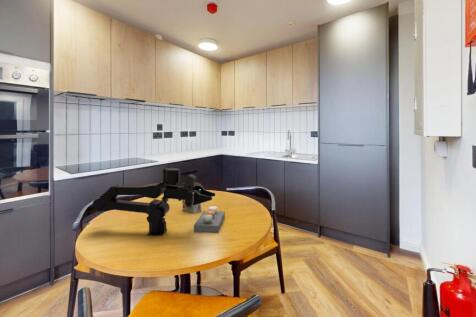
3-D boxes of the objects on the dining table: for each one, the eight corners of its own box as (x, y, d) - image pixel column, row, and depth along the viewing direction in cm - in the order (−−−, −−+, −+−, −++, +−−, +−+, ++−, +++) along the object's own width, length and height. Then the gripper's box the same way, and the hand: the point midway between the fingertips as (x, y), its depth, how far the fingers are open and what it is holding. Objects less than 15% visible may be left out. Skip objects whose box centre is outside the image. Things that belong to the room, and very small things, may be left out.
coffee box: (181, 211, 142) (181, 183, 140) (189, 208, 147) (189, 181, 145) (194, 213, 137) (193, 184, 135) (201, 210, 142) (201, 182, 140)
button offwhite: (207, 212, 126) (207, 208, 125) (209, 209, 130) (209, 206, 130) (216, 212, 125) (216, 208, 125) (218, 209, 130) (218, 206, 129)
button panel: (193, 232, 112) (193, 225, 112) (204, 216, 132) (203, 210, 132) (218, 232, 111) (218, 225, 111) (224, 217, 131) (224, 211, 131)
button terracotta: (204, 216, 119) (204, 212, 119) (206, 213, 124) (206, 209, 123) (214, 216, 119) (214, 213, 119) (215, 213, 123) (215, 210, 123)
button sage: (201, 221, 113) (201, 217, 113) (203, 218, 117) (203, 214, 117) (211, 221, 112) (211, 217, 112) (213, 218, 117) (213, 214, 116)
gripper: (173, 176, 99) (212, 180, 99) (185, 172, 118) (218, 175, 117) (170, 204, 100) (209, 208, 99) (183, 195, 119) (216, 199, 118)
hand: (213, 196), depth 108 cm, fingers open, 9 cm apart
